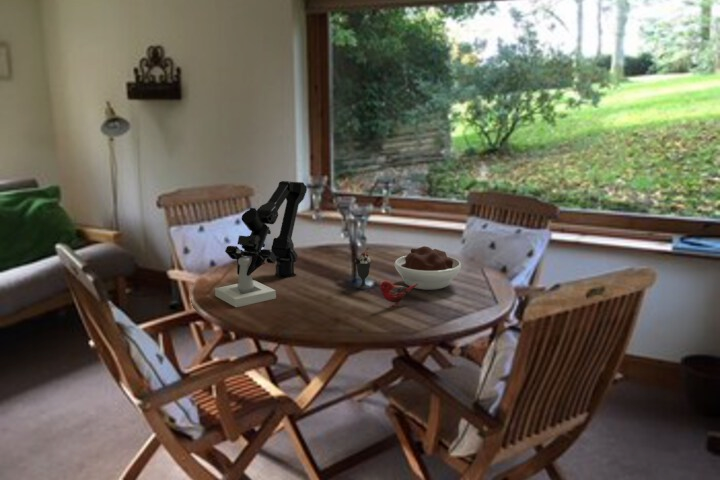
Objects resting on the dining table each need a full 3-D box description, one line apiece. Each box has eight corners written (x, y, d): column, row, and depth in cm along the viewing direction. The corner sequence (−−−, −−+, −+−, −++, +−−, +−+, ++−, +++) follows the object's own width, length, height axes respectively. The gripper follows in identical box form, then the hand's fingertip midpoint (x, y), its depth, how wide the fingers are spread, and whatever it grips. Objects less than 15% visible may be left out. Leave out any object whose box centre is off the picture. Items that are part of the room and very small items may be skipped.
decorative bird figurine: (376, 309, 222) (376, 281, 219) (415, 299, 232) (415, 272, 230) (382, 311, 220) (382, 283, 217) (420, 301, 230) (421, 274, 228)
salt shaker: (243, 296, 231) (241, 261, 228) (234, 292, 235) (232, 258, 232) (257, 292, 235) (255, 257, 231) (248, 289, 239) (246, 254, 236)
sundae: (374, 285, 248) (374, 247, 245) (368, 290, 242) (368, 251, 239) (358, 283, 250) (358, 246, 247) (352, 288, 244) (352, 250, 241)
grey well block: (254, 287, 246) (254, 280, 245) (276, 298, 233) (275, 290, 233) (215, 296, 236) (215, 288, 236) (235, 307, 224) (235, 299, 223)
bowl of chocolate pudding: (473, 285, 248) (474, 247, 244) (433, 301, 230) (434, 260, 227) (421, 273, 264) (422, 237, 261) (381, 286, 247) (381, 248, 243)
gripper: (226, 224, 236) (210, 261, 229) (271, 228, 229) (256, 266, 222) (239, 240, 245) (224, 276, 238) (282, 244, 238) (268, 281, 231)
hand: (242, 274), depth 232 cm, fingers closed on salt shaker, 3 cm apart
